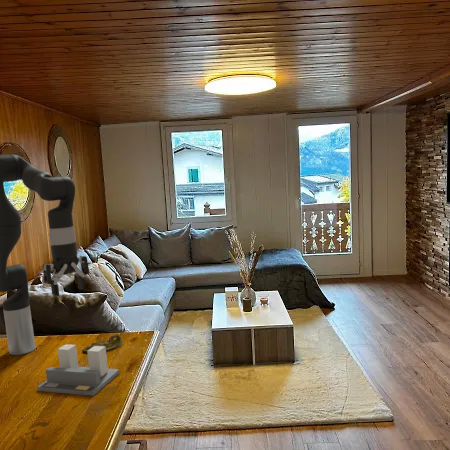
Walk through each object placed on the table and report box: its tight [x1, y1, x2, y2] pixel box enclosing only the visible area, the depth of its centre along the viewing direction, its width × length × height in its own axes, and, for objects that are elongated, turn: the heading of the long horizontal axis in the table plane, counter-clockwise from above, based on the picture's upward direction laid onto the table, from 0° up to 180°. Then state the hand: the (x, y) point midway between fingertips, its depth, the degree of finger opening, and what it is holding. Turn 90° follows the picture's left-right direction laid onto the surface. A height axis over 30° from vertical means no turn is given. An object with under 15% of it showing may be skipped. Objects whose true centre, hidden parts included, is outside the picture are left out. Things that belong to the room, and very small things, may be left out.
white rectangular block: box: [57, 343, 80, 369], centre depth 147 cm, size 4×4×8 cm
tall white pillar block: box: [86, 346, 109, 377], centre depth 144 cm, size 4×4×8 cm
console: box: [36, 366, 121, 396], centre depth 143 cm, size 15×20×5 cm
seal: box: [81, 334, 124, 355], centre depth 170 cm, size 9×5×15 cm
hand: (69, 292), depth 142 cm, fingers open, 8 cm apart
